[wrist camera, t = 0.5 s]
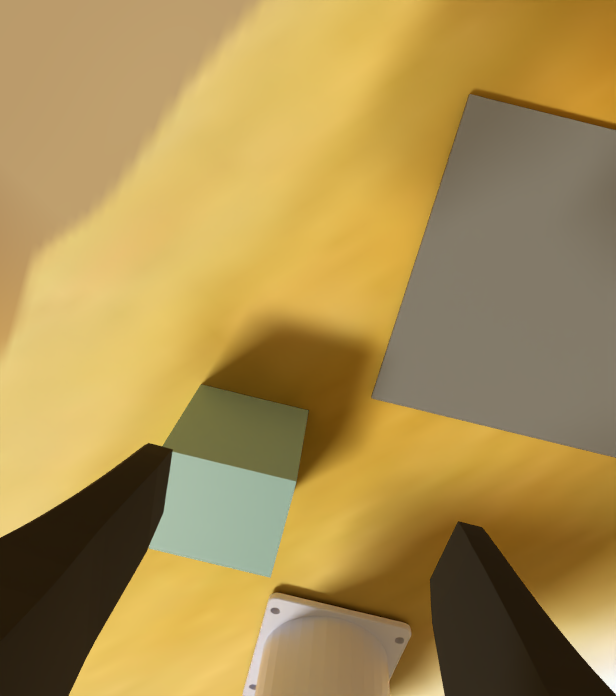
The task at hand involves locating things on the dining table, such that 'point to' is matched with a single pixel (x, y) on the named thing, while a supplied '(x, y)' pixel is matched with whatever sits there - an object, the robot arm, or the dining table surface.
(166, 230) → the dining table surface
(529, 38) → the dining table surface
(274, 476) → the teal cube
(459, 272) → the pad
